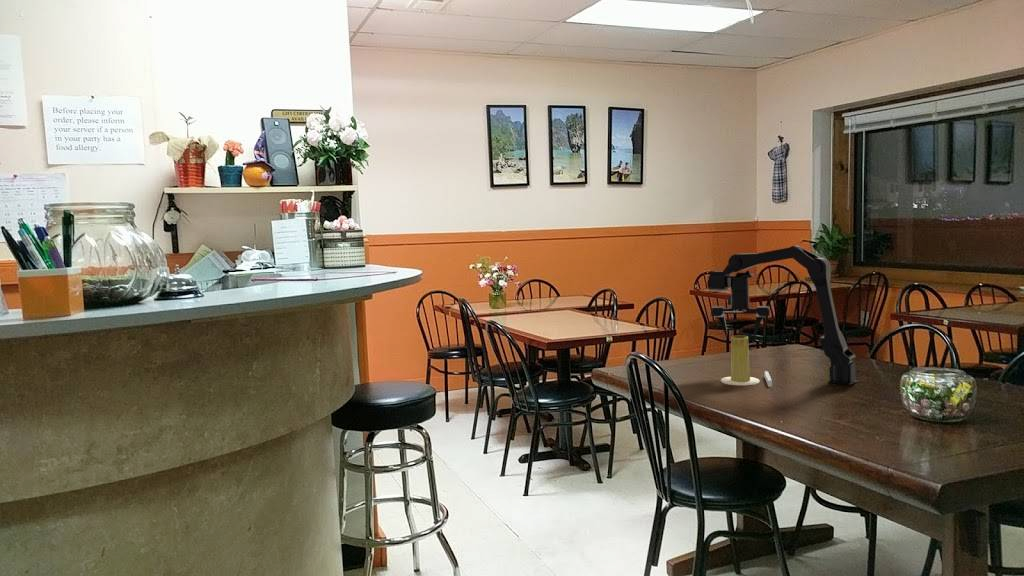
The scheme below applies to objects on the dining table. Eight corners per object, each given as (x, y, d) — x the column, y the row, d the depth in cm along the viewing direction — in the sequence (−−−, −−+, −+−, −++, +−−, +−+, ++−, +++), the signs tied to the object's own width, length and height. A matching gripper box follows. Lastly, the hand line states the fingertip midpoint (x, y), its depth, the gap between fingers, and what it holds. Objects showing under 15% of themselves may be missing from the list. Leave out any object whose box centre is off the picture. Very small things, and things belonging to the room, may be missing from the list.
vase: (752, 381, 222) (752, 337, 221) (733, 382, 223) (732, 338, 221) (747, 377, 228) (746, 334, 227) (728, 378, 229) (727, 335, 228)
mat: (766, 380, 225) (766, 379, 225) (746, 387, 217) (746, 385, 217) (734, 376, 234) (734, 374, 234) (713, 382, 226) (713, 380, 226)
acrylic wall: (764, 377, 230) (764, 371, 230) (767, 377, 230) (767, 371, 230) (768, 386, 217) (768, 380, 217) (771, 386, 217) (771, 380, 216)
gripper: (769, 288, 239) (769, 333, 240) (712, 288, 245) (713, 332, 247) (769, 291, 228) (769, 338, 230) (710, 291, 235) (711, 337, 236)
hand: (740, 336), depth 236 cm, fingers open, 9 cm apart
